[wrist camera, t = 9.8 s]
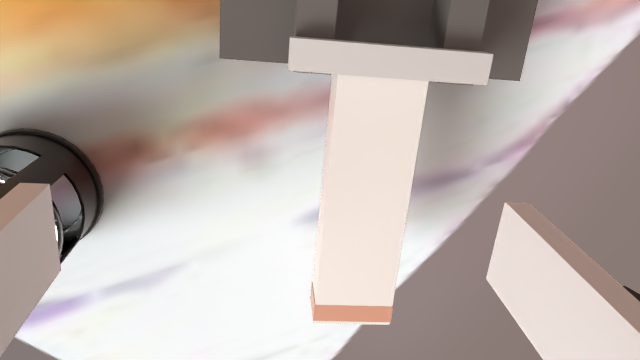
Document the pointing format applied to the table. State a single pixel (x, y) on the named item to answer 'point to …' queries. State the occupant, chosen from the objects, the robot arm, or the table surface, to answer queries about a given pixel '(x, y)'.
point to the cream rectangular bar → (365, 196)
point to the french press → (49, 168)
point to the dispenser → (383, 37)
